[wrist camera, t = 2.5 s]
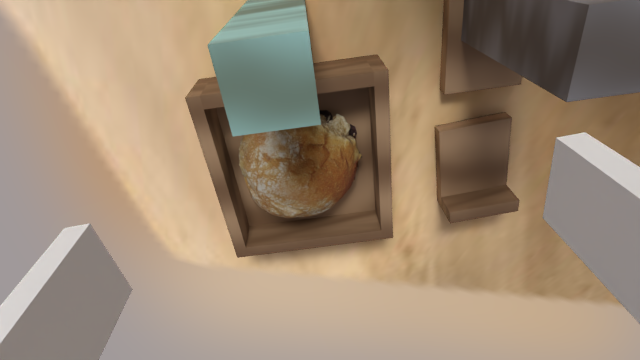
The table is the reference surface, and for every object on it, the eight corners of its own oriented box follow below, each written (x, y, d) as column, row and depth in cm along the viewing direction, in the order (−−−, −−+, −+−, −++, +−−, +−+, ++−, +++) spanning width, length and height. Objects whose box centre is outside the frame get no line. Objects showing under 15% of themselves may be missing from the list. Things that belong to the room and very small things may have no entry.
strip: (434, 126, 33) (449, 144, 30) (505, 112, 32) (526, 129, 29) (437, 200, 37) (450, 223, 34) (499, 188, 36) (518, 210, 33)
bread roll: (246, 94, 34) (192, 143, 28) (352, 78, 29) (314, 134, 23) (284, 181, 39) (246, 237, 33) (379, 180, 34) (353, 245, 29)
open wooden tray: (178, 10, 27) (82, 62, 15) (374, -18, 26) (436, 12, 15) (243, 227, 37) (217, 359, 26) (383, 209, 37) (424, 333, 25)
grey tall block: (445, -20, 27) (563, 8, 15) (530, -33, 26) (719, -14, 15) (439, 89, 31) (528, 180, 19) (513, 79, 31) (649, 164, 19)
